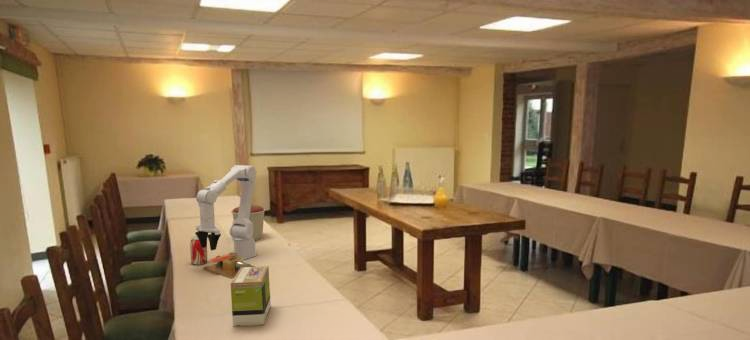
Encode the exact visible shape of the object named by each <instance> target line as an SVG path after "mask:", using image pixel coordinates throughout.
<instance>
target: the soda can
mask: <svg viewBox="0 0 750 340" xmlns="http://www.w3.org/2000/svg"><path fill="white" fill-rule="evenodd" d="M189 247H190V250H189V251H190V261H191V264H193V265H194V264H195V266H198V265H199V266H201V265H204V264H205V263H207V262H208V246H207V247H204V248H202V247H201V244H200V241H199V239H198V237H197V235H196V236H192V237H191V240H190V241H189Z"/></svg>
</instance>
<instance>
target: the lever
mask: <svg viewBox="0 0 750 340" xmlns="http://www.w3.org/2000/svg"><path fill="white" fill-rule="evenodd" d="M219 256H220V257H214V258H210V263H211V264H216V263H217V262H219V261H223V260H226V259H229V258H234V257H236V256H238V253H236V252H229V253H228V254H223V255H219Z"/></svg>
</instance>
